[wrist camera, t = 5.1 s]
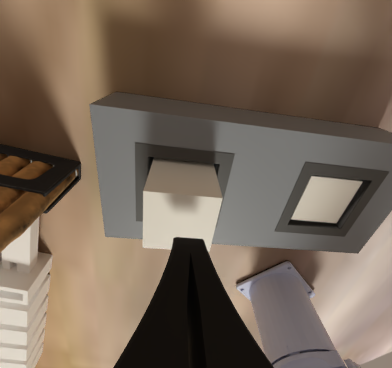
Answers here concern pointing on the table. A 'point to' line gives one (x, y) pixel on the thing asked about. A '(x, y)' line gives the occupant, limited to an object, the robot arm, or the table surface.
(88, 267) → the table surface
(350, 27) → the table surface
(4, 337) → the organizer
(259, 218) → the block
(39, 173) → the ammunition clip
